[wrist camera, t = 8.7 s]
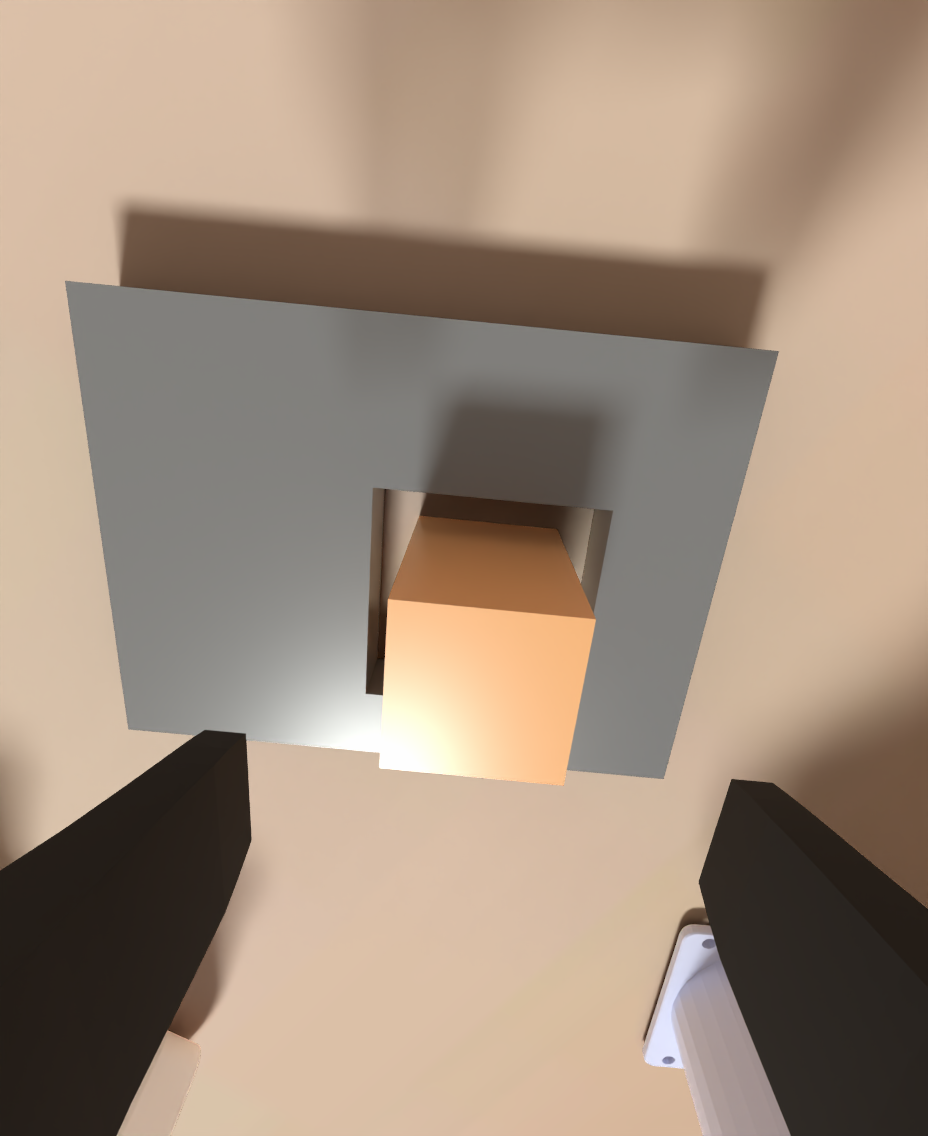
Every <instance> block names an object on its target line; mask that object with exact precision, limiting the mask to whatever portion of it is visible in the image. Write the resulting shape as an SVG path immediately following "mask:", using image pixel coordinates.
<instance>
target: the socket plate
mask: <svg viewBox="0 0 928 1136" xmlns="http://www.w3.org/2000/svg"><path fill="white" fill-rule="evenodd" d="M65 283H66V291H67V298H68V305H69V312H70V319H71V326H72V333H73V340H74V347H75V354H76V361H77V368H78V376H79V383H80V390H81V397H82V404H83V411H84V418H85V425H86V432H87V439H88V446H89V453H90V461H91V468H92V475H93V482H94V489H95V496H96V503H97V510H98V517H99V524H100V531H101V538H102V546H103V553H104V560H105V567H106V574H107V581H108V588H109V595H110V602H111V609H112V616H113V623H114V631H115V638H116V645H117V652H118V659H119V666H120V673H121V680H122V687H123V694H124V701H125V708H126V715H127V723H128V729H131V730H142V731H152V732H163V733H174V734H185V735H195V736H196V735H198V734H199V733H201V732H202V731H204V730H214V731H224V732H235V733H246V740H249V741H260V742H271V743H281V744H292V745H303V746H314V747H324V748H335V749H346V750H357V751H367V752H378V753H380V745H381V726H382V706H383V686H384V667H385V659H377V655H378V632H379V608H380V585H381V562H382V539H383V515H384V492H385V489H392V490H402V491H413V492H423V493H433V494H444V495H454V496H465V497H475V498H485V499H496V500H506V501H516V502H527V503H537V504H548V505H558V506H568V507H579V508H589V509H595V510H594V516H593V521H592V527H591V532H590V538H589V544H588V549H587V555H586V560H585V566H584V572H583V577H582V583H581V586H582V588H583V590H584V593H585V595H586V597H587V600H588V602H589V604H590V607H591V609H592V611H593V613H594V616H595V618H596V622H595V628H594V633H593V638H592V643H591V648H590V653H589V658H588V663H587V668H586V674H585V679H584V684H583V689H582V694H581V699H580V704H579V709H578V715H577V720H576V725H575V730H574V735H573V740H572V745H571V750H570V755H569V761H568V766H567V770H572V771H583V772H593V773H604V774H615V775H626V776H636V777H647V778H658V779H664V775H665V772H666V768H667V764H668V761H669V757H670V753H671V749H672V746H673V742H674V738H675V735H676V731H677V727H678V724H679V720H680V716H681V712H682V709H683V705H684V701H685V698H686V694H687V690H688V686H689V683H690V679H691V675H692V672H693V668H694V664H695V660H696V657H697V653H698V649H699V646H700V642H701V638H702V634H703V631H704V627H705V623H706V620H707V616H708V612H709V609H710V605H711V601H712V597H713V594H714V590H715V586H716V583H717V579H718V575H719V571H720V568H721V564H722V560H723V557H724V553H725V549H726V545H727V542H728V538H729V534H730V531H731V527H732V523H733V520H734V516H735V512H736V508H737V505H738V501H739V497H740V494H741V490H742V486H743V482H744V479H745V475H746V471H747V468H748V464H749V460H750V456H751V453H752V449H753V445H754V442H755V438H756V434H757V430H758V427H759V423H760V419H761V416H762V412H763V408H764V405H765V401H766V397H767V393H768V390H769V386H770V382H771V379H772V375H773V371H774V367H775V364H776V360H777V356H778V353H779V351H771V350H761V349H750V348H740V347H730V346H720V345H710V344H700V343H690V342H680V341H669V340H659V339H649V338H639V337H629V336H619V335H609V334H598V333H588V332H578V331H568V330H558V329H548V328H538V327H527V326H517V325H507V324H497V323H487V322H477V321H467V320H456V319H446V318H436V317H426V316H416V315H406V314H396V313H386V312H375V311H365V310H355V309H345V308H335V307H325V306H315V305H304V304H294V303H284V302H274V301H264V300H254V299H244V298H233V297H223V296H213V295H203V294H193V293H183V292H173V291H163V290H152V289H142V288H132V287H122V286H112V285H102V284H92V283H81V282H71V281H65Z"/></svg>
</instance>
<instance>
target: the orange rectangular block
mask: <svg viewBox="0 0 928 1136" xmlns="http://www.w3.org/2000/svg"><path fill="white" fill-rule="evenodd" d="M595 622H596V618H595V616H594V613H593V611H592V609H591V607H590V604H589V602H588V600H587V597H586V595H585V593H584V590H583V588H582V586H581V583H580V581H579V579H578V576H577V574H576V572H575V570H574V567H573V565H572V563H571V560H570V558H569V556H568V553H567V551H566V549H565V546H564V544H563V542H562V540H561V537H560V535H559V533H558V530H557V529H550V528H540V527H530V526H520V525H510V524H499V523H489V522H479V521H469V520H459V519H448V518H438V517H428V516H419V518H418V521H417V524H416V526H415V529H414V532H413V534H412V537H411V540H410V542H409V545H408V547H407V550H406V553H405V555H404V558H403V561H402V563H401V566H400V569H399V571H398V574H397V577H396V579H395V582H394V584H393V587H392V590H391V592H390V595H389V598H388V608H387V627H386V647H385V667H384V686H383V706H382V726H381V745H380V765H379V768H384V769H394V770H405V771H415V772H426V773H436V774H447V775H457V776H468V777H478V778H489V779H499V780H510V781H520V782H531V783H541V784H552V785H562V786H564V781H565V776H566V771H567V766H568V761H569V755H570V750H571V745H572V740H573V735H574V730H575V725H576V720H577V715H578V709H579V704H580V699H581V694H582V689H583V684H584V679H585V674H586V668H587V663H588V658H589V653H590V648H591V643H592V638H593V633H594V628H595Z"/></svg>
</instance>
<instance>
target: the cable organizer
mask: <svg viewBox="0 0 928 1136" xmlns="http://www.w3.org/2000/svg"><path fill="white" fill-rule="evenodd" d="M200 1056H201V1048H200V1046H199V1044H197V1043H194V1042H192V1041H190V1040H188V1039H186V1038H183V1037H181V1036H179V1035H177V1034H175V1033H173V1032H170V1031H168V1030H167V1032H166V1034H165V1036H164V1038H163V1040H162V1042H161V1044H160V1046H159V1048H158V1050H157V1052H156V1054H155V1056H154V1058H153V1060H152V1063H151V1065H150V1067H149V1069H148V1071H147V1073H146V1075H145V1077H144V1079H143V1081H142V1083H141V1085H140V1087H139V1089H138V1091H137V1093H136V1095H135V1097H134V1099H133V1101H132V1103H131V1105H130V1107H129V1110H128V1112H127V1114H126V1116H125V1118H124V1121H123V1123H122V1125H121V1127H120V1129H119V1132H118V1134H117V1136H171V1135H172V1133H173V1130H174V1127H175V1125H176V1122H177V1120H178V1117H179V1115H180V1112H181V1110H182V1107H183V1105H184V1102H185V1100H186V1097H187V1095H188V1092H189V1090H190V1087H191V1084H192V1082H193V1079H194V1077H195V1074H196V1071H197V1068H198V1065H199V1060H200Z"/></svg>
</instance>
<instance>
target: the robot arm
mask: <svg viewBox="0 0 928 1136" xmlns="http://www.w3.org/2000/svg"><path fill="white" fill-rule="evenodd" d="M250 843H251V821H250V802H249V783H248V764H247V745H246V733H235V732H224V731H214V730H204V731H202V732H201V733H199V734H198V735H196V736H195V737H193V738H192V739H190V740H189V741H187V742H186V743H185V744H183V745H182V746H180V747H179V748H178V749H176V750H175V751H173V752H172V753H171V754H169V755H168V756H167V757H165V758H164V759H162V760H161V761H160V762H158V763H157V764H155V765H154V766H153V767H151V768H150V769H149V770H147V771H146V772H144V773H143V774H142V775H140V776H139V777H137V778H136V779H135V780H133V781H132V782H130V783H129V784H128V785H126V786H125V787H123V788H122V789H121V790H119V791H118V792H116V793H115V794H113V795H112V796H111V797H109V798H108V799H106V800H105V801H103V802H102V803H101V804H99V805H98V806H96V807H95V808H93V809H92V810H91V811H89V812H88V813H86V814H85V815H83V816H82V817H81V818H79V819H78V820H76V821H75V822H74V823H72V824H71V825H69V826H68V827H66V828H65V829H63V830H62V831H60V832H59V833H57V834H56V835H54V836H53V837H51V838H50V839H48V840H47V841H45V842H44V843H42V844H41V845H39V846H37V847H36V848H34V849H33V850H31V851H30V852H28V853H27V854H25V855H24V856H22V857H21V858H19V859H17V860H16V861H14V862H13V863H11V864H10V865H8V866H7V867H5V868H4V869H2V870H1V871H0V1136H117V1134H118V1132H119V1129H120V1127H121V1125H122V1123H123V1121H124V1118H125V1116H126V1114H127V1112H128V1110H129V1107H130V1105H131V1103H132V1101H133V1099H134V1097H135V1095H136V1093H137V1091H138V1089H139V1087H140V1085H141V1083H142V1081H143V1079H144V1077H145V1075H146V1073H147V1071H148V1069H149V1067H150V1065H151V1063H152V1060H153V1058H154V1056H155V1054H156V1052H157V1050H158V1048H159V1046H160V1044H161V1042H162V1040H163V1038H164V1036H165V1034H166V1032H167V1030H168V1028H169V1026H170V1024H171V1022H172V1020H173V1018H174V1016H175V1014H176V1012H177V1010H178V1008H179V1006H180V1004H181V1002H182V1000H183V998H184V996H185V994H186V992H187V990H188V988H189V986H190V984H191V982H192V980H193V978H194V976H195V974H196V972H197V969H198V967H199V965H200V963H201V961H202V959H203V957H204V955H205V953H206V951H207V949H208V947H209V945H210V943H211V941H212V939H213V937H214V935H215V933H216V930H217V928H218V926H219V924H220V922H221V920H222V918H223V916H224V914H225V912H226V909H227V906H228V904H229V901H230V898H231V896H232V893H233V890H234V888H235V885H236V882H237V880H238V877H239V874H240V871H241V869H242V866H243V863H244V860H245V857H246V854H247V852H248V849H249V846H250ZM699 885H700V889H701V893H702V896H703V900H704V904H705V908H706V912H707V916H708V919H709V923H710V925H699V924H690V925H687V926H685V927H684V928H682V930H681V931H680V933H679V937H678V940H677V943H676V946H675V949H674V952H673V955H672V958H671V962H670V965H669V968H668V971H667V974H666V977H665V980H664V983H663V987H662V990H661V993H660V996H659V999H658V1002H657V1005H656V1008H655V1011H654V1015H653V1018H652V1021H651V1024H650V1027H649V1030H648V1033H647V1036H646V1040H645V1043H644V1046H643V1056H644V1060H645V1061H646V1063H648V1064H650V1065H653V1066H661V1067H672V1068H683V1069H684V1071H685V1074H686V1078H687V1081H688V1085H689V1088H690V1092H691V1095H692V1099H693V1103H694V1106H695V1110H696V1113H697V1117H698V1120H699V1124H700V1127H701V1131H702V1134H703V1136H928V909H927V908H926V907H925V906H923V905H922V904H921V903H920V902H918V901H917V900H916V899H915V898H913V897H912V896H911V895H910V894H909V893H907V892H906V891H905V890H904V889H902V888H901V887H900V886H899V885H898V884H896V883H895V882H894V881H893V880H892V879H890V878H889V877H888V876H887V875H885V874H884V873H883V872H882V871H881V870H879V869H878V868H877V867H876V866H875V865H873V864H872V863H871V862H870V861H869V860H867V859H866V858H865V857H864V856H863V855H861V854H860V853H859V852H858V851H857V850H855V849H854V848H853V847H852V846H851V845H849V844H848V843H847V842H846V841H845V840H843V839H842V838H841V837H840V836H839V835H837V834H836V833H835V832H834V831H833V830H831V829H830V828H829V827H828V826H826V825H825V824H824V823H823V822H822V821H820V820H819V819H818V818H817V817H816V816H814V815H813V814H812V813H811V812H809V811H808V810H807V809H806V808H804V807H803V806H802V805H801V804H800V803H798V802H797V801H796V800H794V799H793V798H792V797H791V796H789V795H788V794H787V793H785V792H784V791H783V790H781V789H780V788H779V787H777V786H776V785H775V784H773V783H767V782H757V781H746V780H735V779H731V782H730V786H729V789H728V792H727V795H726V798H725V801H724V804H723V807H722V811H721V814H720V817H719V820H718V823H717V826H716V829H715V832H714V835H713V839H712V842H711V845H710V848H709V851H708V854H707V857H706V860H705V863H704V867H703V870H702V873H701V876H700V879H699Z"/></svg>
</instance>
